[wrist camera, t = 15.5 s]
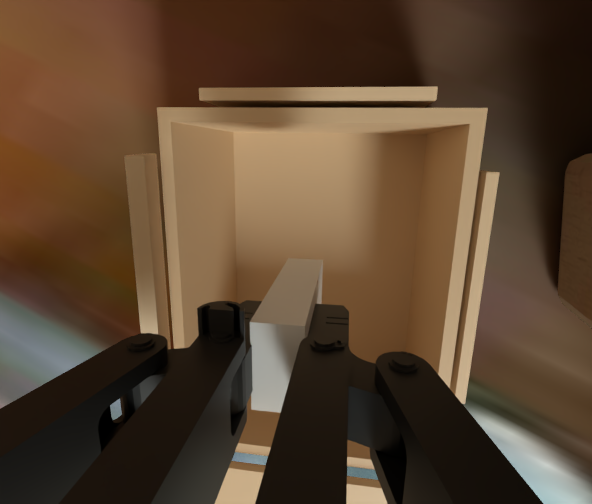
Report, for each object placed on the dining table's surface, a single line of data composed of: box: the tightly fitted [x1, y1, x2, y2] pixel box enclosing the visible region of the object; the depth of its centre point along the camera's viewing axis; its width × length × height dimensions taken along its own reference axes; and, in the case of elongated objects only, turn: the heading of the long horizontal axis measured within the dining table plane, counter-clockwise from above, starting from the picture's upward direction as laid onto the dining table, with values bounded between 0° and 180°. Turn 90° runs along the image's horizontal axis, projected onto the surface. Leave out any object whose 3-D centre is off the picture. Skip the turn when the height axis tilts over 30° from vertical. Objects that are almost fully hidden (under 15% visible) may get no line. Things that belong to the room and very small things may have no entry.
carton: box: [157, 87, 499, 470], centre depth 23 cm, size 19×15×10 cm
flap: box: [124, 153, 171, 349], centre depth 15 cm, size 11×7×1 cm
